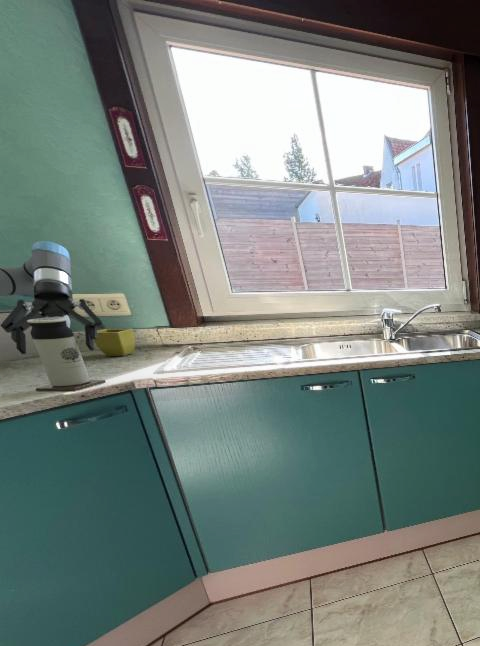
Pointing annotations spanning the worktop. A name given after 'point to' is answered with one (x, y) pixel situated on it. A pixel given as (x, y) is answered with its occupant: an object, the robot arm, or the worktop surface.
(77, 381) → the travel mug
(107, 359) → the worktop surface
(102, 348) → the flower pot
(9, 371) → the worktop surface
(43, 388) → the coaster
